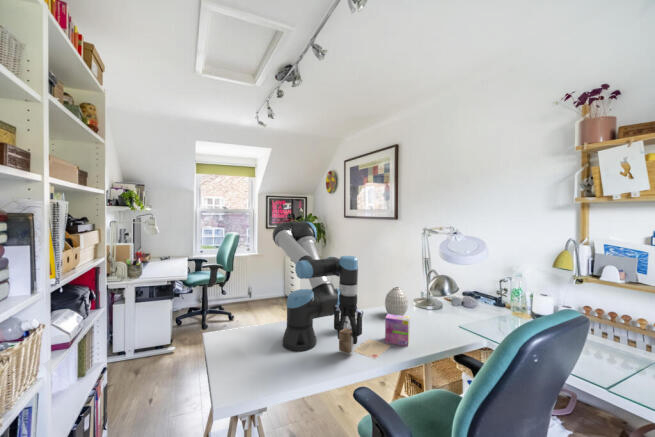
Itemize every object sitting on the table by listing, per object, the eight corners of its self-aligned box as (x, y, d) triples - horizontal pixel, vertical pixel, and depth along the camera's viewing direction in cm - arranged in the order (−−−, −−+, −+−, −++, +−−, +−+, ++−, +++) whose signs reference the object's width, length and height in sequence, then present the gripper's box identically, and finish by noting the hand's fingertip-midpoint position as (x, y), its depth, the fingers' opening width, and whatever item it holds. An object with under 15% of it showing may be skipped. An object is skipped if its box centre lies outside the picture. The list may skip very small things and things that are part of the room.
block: (338, 350, 125) (339, 331, 125) (345, 346, 129) (345, 327, 129) (349, 353, 122) (349, 334, 122) (355, 349, 126) (355, 330, 126)
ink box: (346, 334, 145) (347, 310, 145) (339, 331, 149) (340, 308, 148) (358, 330, 151) (359, 307, 150) (351, 327, 154) (352, 304, 154)
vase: (383, 311, 178) (384, 284, 178) (406, 313, 177) (406, 285, 176) (385, 319, 166) (385, 289, 165) (408, 321, 164) (409, 291, 163)
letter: (352, 351, 128) (352, 350, 128) (369, 339, 140) (369, 338, 140) (375, 359, 122) (375, 358, 122) (391, 346, 134) (391, 345, 134)
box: (384, 342, 137) (385, 317, 137) (386, 337, 142) (387, 313, 142) (408, 346, 134) (408, 320, 133) (409, 341, 139) (410, 316, 138)
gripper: (325, 291, 127) (324, 346, 128) (362, 299, 116) (361, 359, 117) (335, 288, 133) (334, 340, 134) (371, 295, 123) (370, 351, 123)
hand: (347, 348), depth 125 cm, fingers closed on block, 5 cm apart
